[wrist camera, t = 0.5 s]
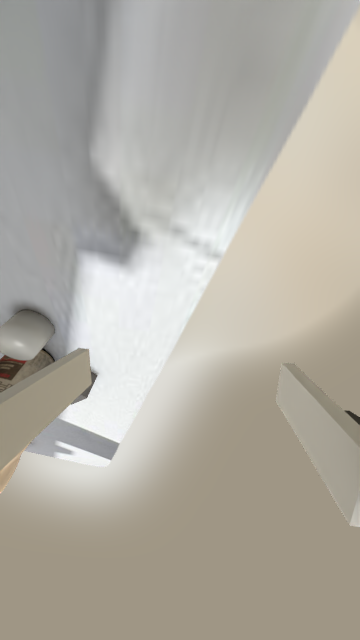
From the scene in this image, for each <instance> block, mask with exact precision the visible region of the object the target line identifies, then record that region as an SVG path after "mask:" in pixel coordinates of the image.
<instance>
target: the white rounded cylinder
mask: <svg viewBox="0 0 360 640" xmlns="http://www.w3.org/2000/svg"><path fill="white" fill-rule="evenodd" d="M54 333H55V329H54V326H53V325H52V323H51V322H50V321H49V320H48V319H47V318H46V317H44V316H43V315H41V314H39V313H36V312H34V311H29V310H23V311H20V312H18V313H17V314H16V315H14V316H13V317H12V318H11V319H10V320H8V321H7V322H6V323H5V324H3V325H2V326H1V327H0V352H1V353H3V354H5V355H6V356H9V357H11V358H14V359H17V360H24V361H27V360H32V359H33V358H34V357H35V356H36V355H37V354H38V353H39V351H40V350H41V349H42V348H43V347H44V346H45V344H46V343H47V342H48V341H49V340H50V339H51V337H52V336H53V335H54Z"/></svg>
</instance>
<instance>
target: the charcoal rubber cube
mask: <svg viewBox="0 0 360 640" xmlns="http://www.w3.org/2000/svg"><path fill="white" fill-rule="evenodd" d="M96 378H97V375H96V374H94V373H93V372H91V381H92V384H91V385H90V386H89V387H88V388H87V389H86V390H85V391H84V392H83V393H82V394H80V395H79V396H78V397H77V398H76V399H75V400H74V401H73V402H72V403H71V404H74V403H76V402H79V401H81V400H83V399H86V398H87V397H88V395H89V392H90V390H91V388H92V386H93V384H94V382H95V380H96Z"/></svg>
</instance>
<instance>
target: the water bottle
mask: <svg viewBox="0 0 360 640" xmlns="http://www.w3.org/2000/svg"><path fill="white" fill-rule="evenodd" d="M28 445H29V444H28ZM28 445H27V446H28ZM27 446H26V447H25V448H24V449H23V450H22V451H21V452H19V453H18V454H17V455H16V456H15V457H14V458H13V459H12V460H11V461H10V462H9V463H8V464H7V465H6V466H5V467H4V468H3V469H2V470H1V471H0V494H1V492H2V491H3V490H4V488H5V487H6V485H7V484H8V482H9V480H10V479H11V477H12V475H13V473H14V471H15V469H16V467H17V464H18V462H19V460H20V456H21V454H22V452H23V451H24V450H25V449H26V448H27Z"/></svg>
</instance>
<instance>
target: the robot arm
mask: <svg viewBox="0 0 360 640" xmlns="http://www.w3.org/2000/svg"><path fill="white" fill-rule="evenodd" d="M91 384H92V381H91V369H90V357H89V349H81V348H78V349H77V350H75V351H73V352H71V353H70V354H68V355H66V356H64V357H63V358H61V359H59V360H57V361H56V362H54V363H52V364H50V365H48V366H47V367H45V368H43V369H41V370H40V371H38V372H36V373H34V374H33V375H31V376H29V377H27V378H26V379H24V380H22V381H20V382H18V383H17V384H15V385H12V386H11V387H9V388H7V389H5V390H4V391H2V392H1V393H0V471H1V470H2V469H3V468H4V467H5V466H6V465H7V464H8V463H9V462H10V461H11V460H12V459H13V458H14V457H15V456H16V455H17V454H18V453H19V452H21V451H22V450H23V449H24V448H25V447H26V446H27V445H28V444H29V443H30V442H31V441H32V440H33V439H34V438H35V437H36V436H37V435H38V434H39V433H40V432H42V431H43V430H44V429H45V428H46V427H47V426H48V425H49V424H50V423H51V422H52V421H53V420H54V419H55V418H56V417H57V416H58V415H59V414H60V413H62V412H63V411H64V410H65V409H66V408H67V407H68V406H69V405H70V404H71V403H72V402H73V401H74V400H75V399H76V398H77V397H78V396H79V395H80V394H82V393H83V392H84V391H85V390H86V389H87V388H88V387H89V386H90V385H91ZM276 402H277V404H278V405H279V407H280V409H281V410H282V412H283V414H284V415H285V417H286V419H287V421H288V422H289V424H290V426H291V427H292V429H293V431H294V432H295V434H296V436H297V438H298V439H299V441H300V443H301V444H302V446H303V448H304V449H305V451H306V453H307V455H308V456H309V458H310V460H311V461H312V463H313V465H314V466H315V468H316V470H317V471H318V473H319V475H320V476H321V478H322V480H323V481H324V483H325V485H326V487H327V488H328V490H329V492H330V493H331V495H332V496H333V498H334V500H335V502H336V504H337V505H338V507H339V509H340V510H341V512H342V514H343V516H344V517H345V519H346V521H347V522H348V524H349V525H350V526H356V527H360V417H358V416H357V415H355V414H353V413H352V412H350V411H344V410H343V409H342V408H341V407H340V406H339V405H337V404H336V403H335V402H334V401H333V400H332V399H331V398H330V397H329V396H328V395H327V394H326V393H325V392H324V391H323V390H322V389H321V388H319V387H318V386H317V385H316V384H315V383H314V382H313V381H312V380H311V379H310V378H309V377H308V376H307V375H306V374H305V373H304V372H302V371H301V370H300V369H299V368H298V367H297V366H296V365H295V364H291V363H282V364H281V370H280V377H279V383H278V390H277V396H276Z"/></svg>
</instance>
